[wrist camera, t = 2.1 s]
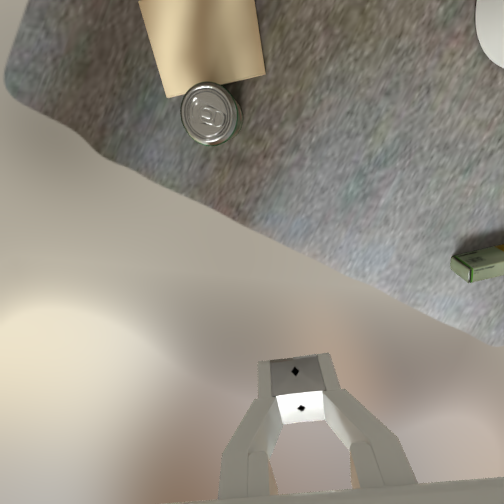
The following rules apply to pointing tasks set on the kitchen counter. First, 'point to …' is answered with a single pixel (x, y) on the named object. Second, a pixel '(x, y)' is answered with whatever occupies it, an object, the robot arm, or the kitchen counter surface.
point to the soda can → (210, 114)
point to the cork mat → (203, 41)
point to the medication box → (479, 264)
